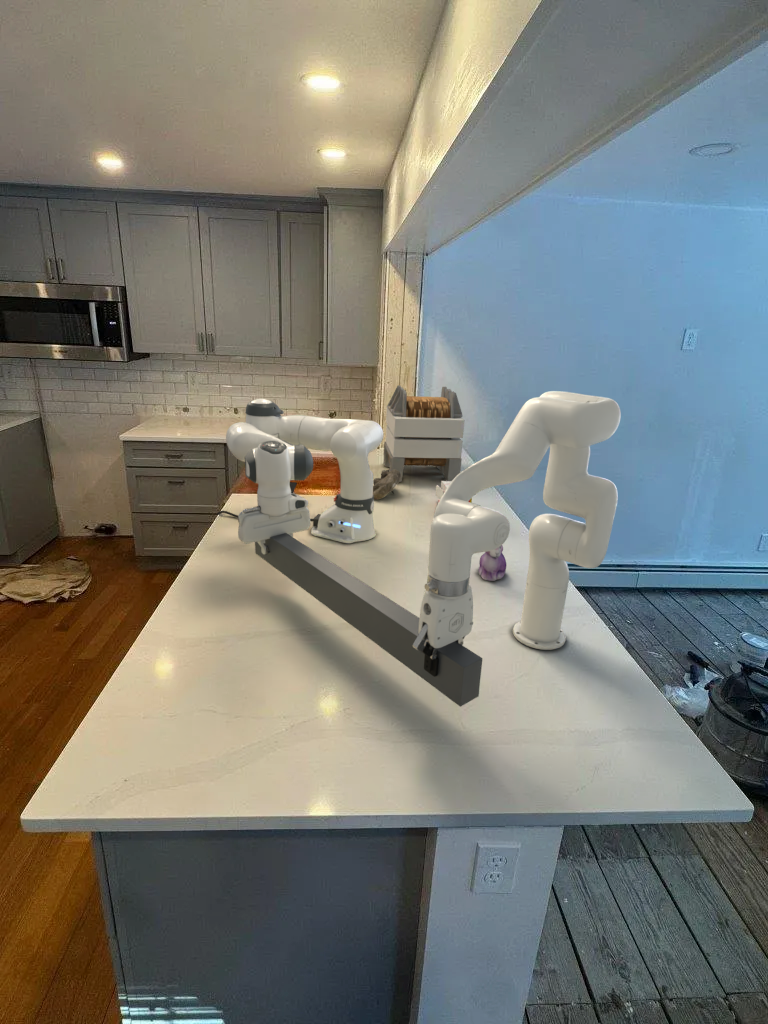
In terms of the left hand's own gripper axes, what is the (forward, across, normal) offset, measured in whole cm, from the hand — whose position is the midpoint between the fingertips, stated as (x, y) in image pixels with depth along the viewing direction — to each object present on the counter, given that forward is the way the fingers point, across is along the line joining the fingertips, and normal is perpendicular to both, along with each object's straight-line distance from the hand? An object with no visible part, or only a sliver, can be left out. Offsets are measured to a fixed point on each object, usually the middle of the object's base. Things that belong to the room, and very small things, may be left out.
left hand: (275, 550), depth 155 cm
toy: (+12, +88, +18) cm, 90 cm away
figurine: (+11, +57, -30) cm, 65 cm away
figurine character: (+12, +37, +59) cm, 71 cm away
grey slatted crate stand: (+12, +114, +66) cm, 132 cm away
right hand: (-1, 0, -65) cm, 65 cm away
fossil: (+12, +79, +50) cm, 94 cm away
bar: (+3, 0, -33) cm, 33 cm away
